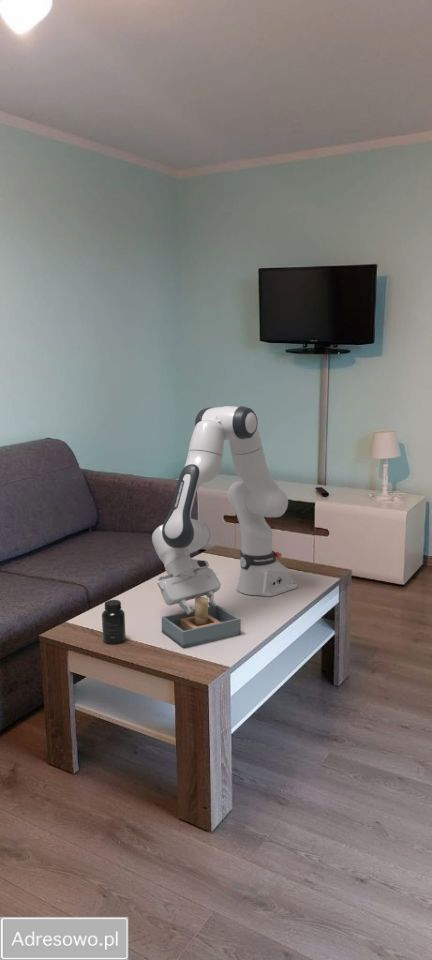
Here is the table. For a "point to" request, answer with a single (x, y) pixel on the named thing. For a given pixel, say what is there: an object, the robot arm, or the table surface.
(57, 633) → the table surface
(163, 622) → the open-top box
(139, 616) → the table surface
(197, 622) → the beech peg
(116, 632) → the supplement bottle
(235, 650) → the table surface
